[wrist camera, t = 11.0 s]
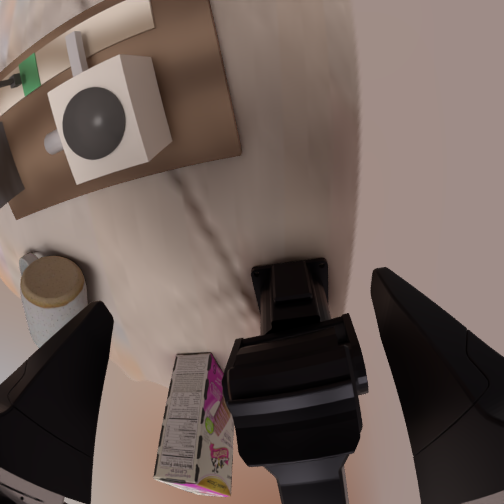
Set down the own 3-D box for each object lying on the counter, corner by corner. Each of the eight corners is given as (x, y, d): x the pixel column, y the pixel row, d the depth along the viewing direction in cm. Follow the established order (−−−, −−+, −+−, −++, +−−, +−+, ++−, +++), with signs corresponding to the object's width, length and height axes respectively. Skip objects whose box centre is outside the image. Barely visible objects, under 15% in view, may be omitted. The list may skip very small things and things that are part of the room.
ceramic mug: (97, 263, 25) (60, 320, 18) (100, 315, 29) (75, 368, 23) (21, 233, 23) (-20, 277, 17) (32, 286, 27) (2, 329, 21)
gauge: (172, 141, 17) (147, 162, 13) (79, 171, 18) (43, 198, 14) (140, 6, 11) (105, -9, 7) (47, 56, 12) (4, 61, 8)
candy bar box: (238, 392, 38) (232, 497, 24) (206, 393, 39) (195, 494, 25) (212, 350, 32) (197, 486, 18) (174, 352, 32) (149, 479, 19)
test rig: (241, 151, 19) (233, 190, 13) (21, 215, 21) (-20, 255, 16) (202, -31, 11) (175, -73, 5) (-18, 95, 13) (-69, 116, 8)
